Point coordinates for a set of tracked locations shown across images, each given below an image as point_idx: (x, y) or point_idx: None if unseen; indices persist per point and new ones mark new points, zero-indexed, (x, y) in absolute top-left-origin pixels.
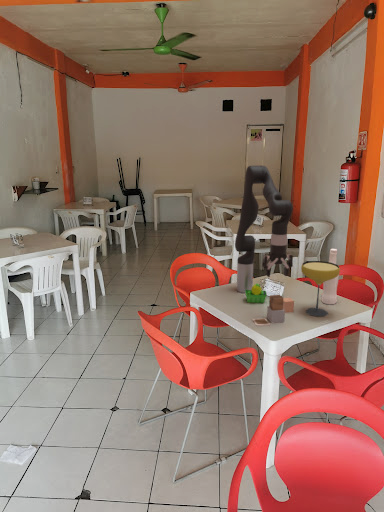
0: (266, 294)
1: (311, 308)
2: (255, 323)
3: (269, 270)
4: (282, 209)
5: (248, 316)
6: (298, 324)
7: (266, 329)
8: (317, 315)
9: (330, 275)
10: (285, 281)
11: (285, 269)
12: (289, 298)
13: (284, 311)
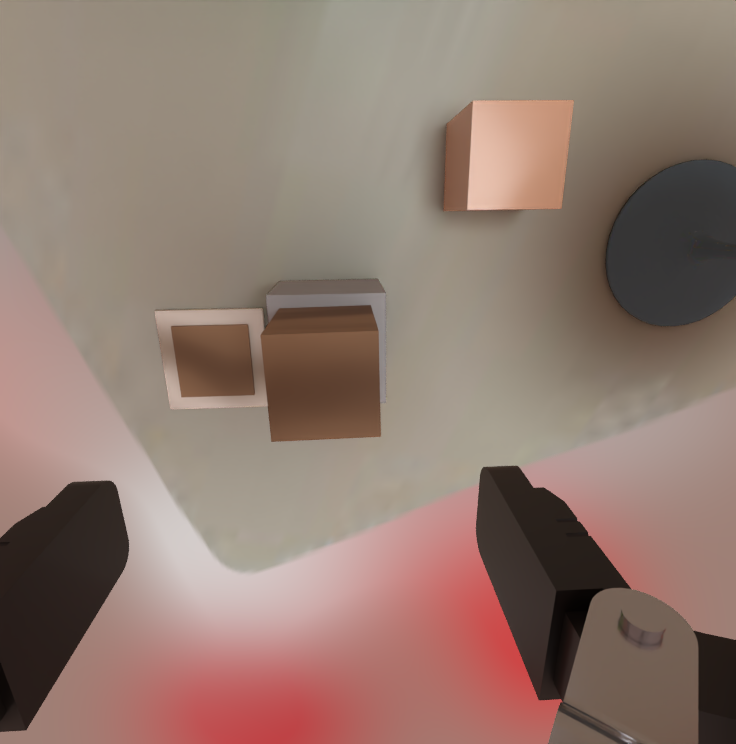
0: None
1: (688, 184)
2: (168, 381)
3: (19, 706)
4: None
5: (139, 239)
6: (453, 417)
7: (228, 457)
8: (648, 315)
9: None
10: None
11: (530, 644)
12: (556, 121)
13: (381, 399)
